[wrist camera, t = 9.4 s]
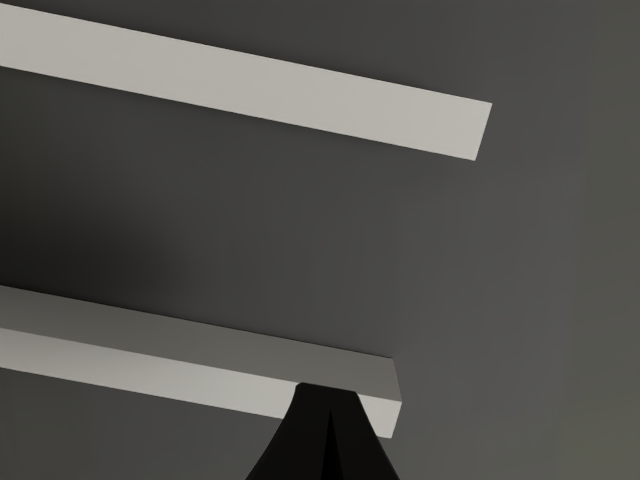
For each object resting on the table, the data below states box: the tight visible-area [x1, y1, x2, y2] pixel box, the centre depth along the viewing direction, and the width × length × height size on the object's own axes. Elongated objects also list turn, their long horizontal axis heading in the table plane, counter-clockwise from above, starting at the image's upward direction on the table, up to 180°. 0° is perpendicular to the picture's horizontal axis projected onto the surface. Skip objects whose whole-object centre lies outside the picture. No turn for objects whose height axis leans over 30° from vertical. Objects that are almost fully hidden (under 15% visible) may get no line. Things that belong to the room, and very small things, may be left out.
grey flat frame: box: [0, 3, 492, 438], centre depth 14 cm, size 11×26×2 cm, turn 79°
